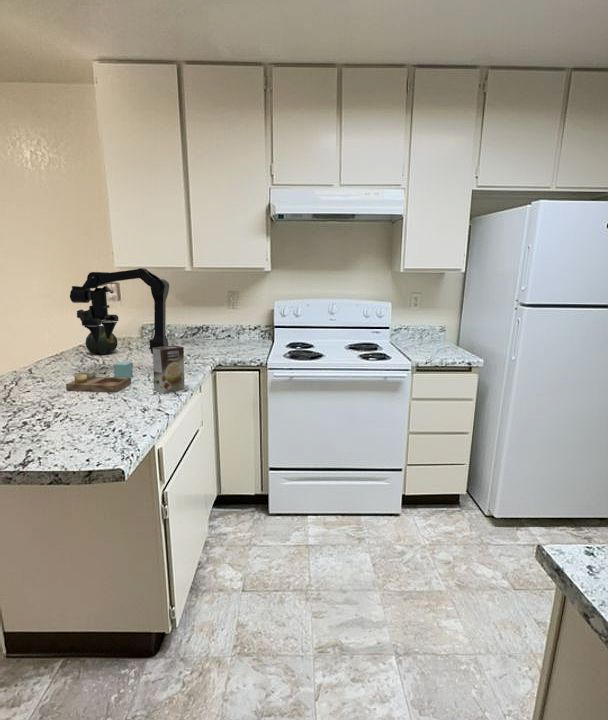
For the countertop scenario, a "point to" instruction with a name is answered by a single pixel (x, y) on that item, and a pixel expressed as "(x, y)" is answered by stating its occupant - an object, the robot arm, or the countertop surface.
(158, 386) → the coffee box
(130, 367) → the teal block
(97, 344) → the squash
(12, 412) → the countertop surface
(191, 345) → the countertop surface
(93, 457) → the countertop surface
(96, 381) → the puzzle board
